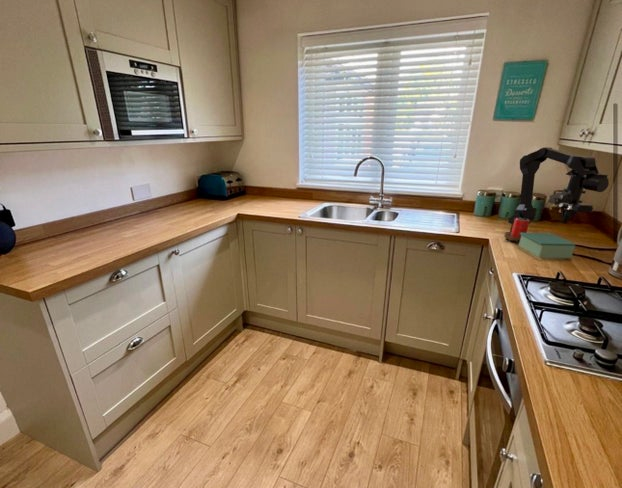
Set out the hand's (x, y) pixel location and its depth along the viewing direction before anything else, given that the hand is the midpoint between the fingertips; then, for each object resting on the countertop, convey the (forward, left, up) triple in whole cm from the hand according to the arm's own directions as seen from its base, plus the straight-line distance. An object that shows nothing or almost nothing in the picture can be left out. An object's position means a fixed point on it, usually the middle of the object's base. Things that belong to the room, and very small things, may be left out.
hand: (563, 222), depth 145 cm
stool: (-9, -14, -13) cm, 21 cm away
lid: (+5, -9, -6) cm, 12 cm away
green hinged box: (+5, -9, -13) cm, 16 cm away
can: (-9, -12, -9) cm, 18 cm away
